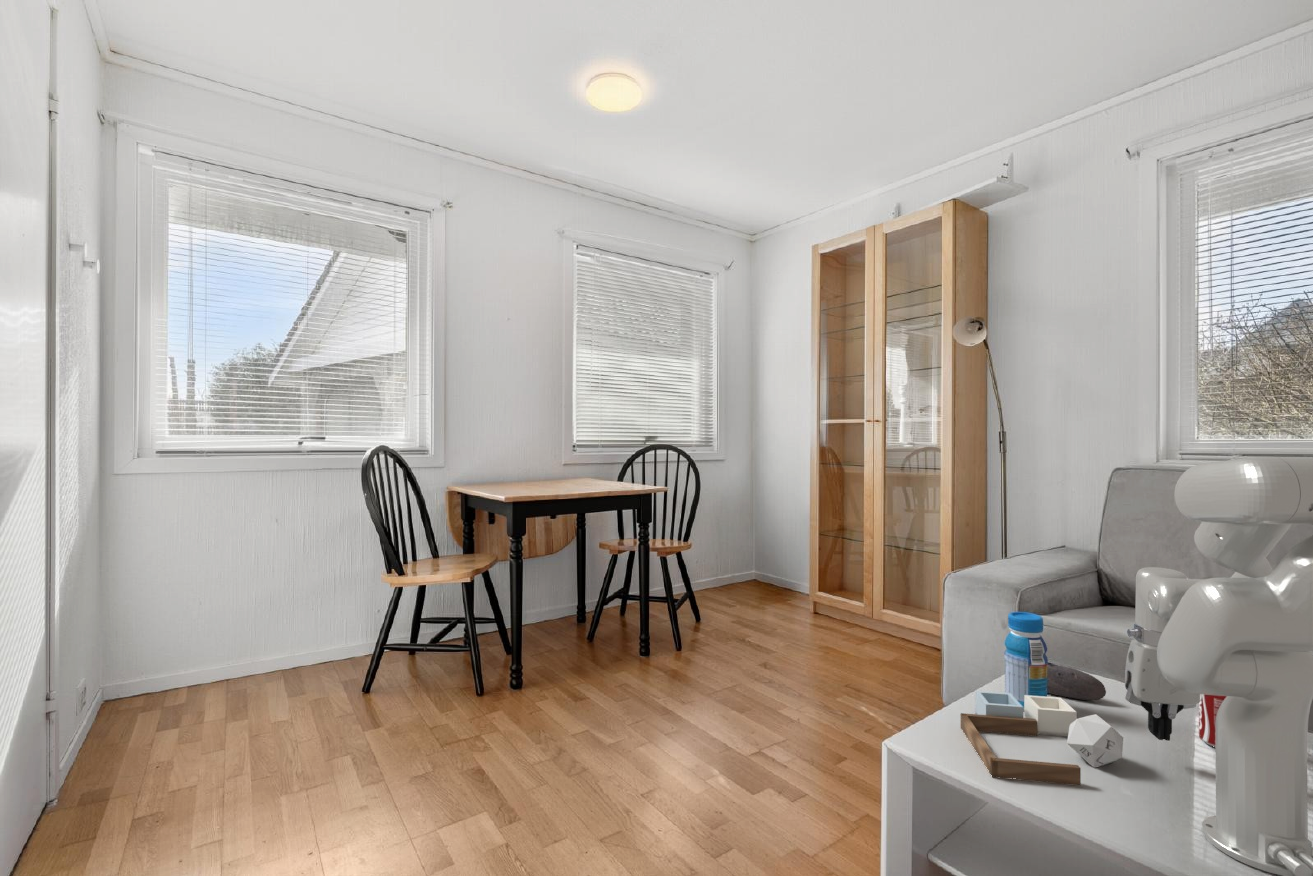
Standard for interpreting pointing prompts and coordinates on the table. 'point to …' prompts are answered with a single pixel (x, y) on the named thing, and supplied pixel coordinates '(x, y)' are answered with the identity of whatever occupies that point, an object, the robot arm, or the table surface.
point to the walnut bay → (1012, 766)
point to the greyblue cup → (997, 704)
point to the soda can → (1208, 717)
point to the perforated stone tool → (1073, 683)
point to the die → (1095, 740)
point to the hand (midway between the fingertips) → (1159, 736)
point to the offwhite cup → (1049, 714)
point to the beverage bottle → (1025, 657)
